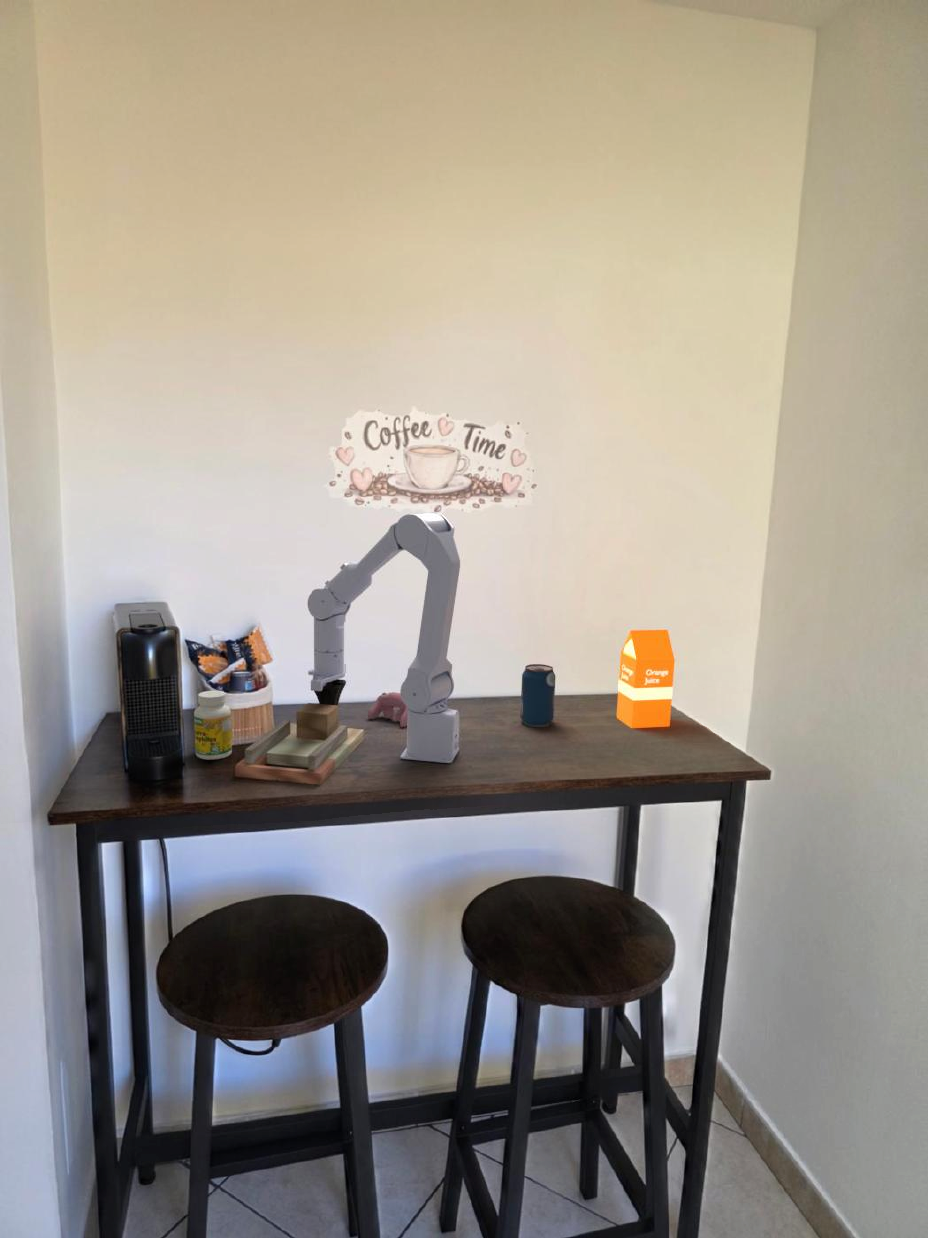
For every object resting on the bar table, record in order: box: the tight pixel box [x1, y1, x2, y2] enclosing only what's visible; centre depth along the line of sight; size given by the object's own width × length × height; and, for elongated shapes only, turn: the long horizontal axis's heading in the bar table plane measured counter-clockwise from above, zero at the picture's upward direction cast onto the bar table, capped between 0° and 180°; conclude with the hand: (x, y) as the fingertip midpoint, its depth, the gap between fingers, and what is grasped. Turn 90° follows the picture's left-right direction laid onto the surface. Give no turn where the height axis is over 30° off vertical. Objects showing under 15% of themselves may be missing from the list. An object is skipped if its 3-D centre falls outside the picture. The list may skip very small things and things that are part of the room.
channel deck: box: [234, 720, 365, 786], centre depth 149 cm, size 15×24×4 cm, turn 170°
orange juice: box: [616, 629, 676, 729], centre depth 175 cm, size 8×9×20 cm
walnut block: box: [295, 702, 339, 740], centre depth 156 cm, size 6×6×5 cm
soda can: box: [519, 663, 556, 728], centre depth 173 cm, size 7×7×12 cm
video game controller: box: [367, 691, 407, 728], centre depth 172 cm, size 10×5×7 cm, turn 58°
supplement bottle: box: [193, 690, 233, 761], centre depth 148 cm, size 6×6×11 cm
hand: (329, 717), depth 162 cm, fingers closed
